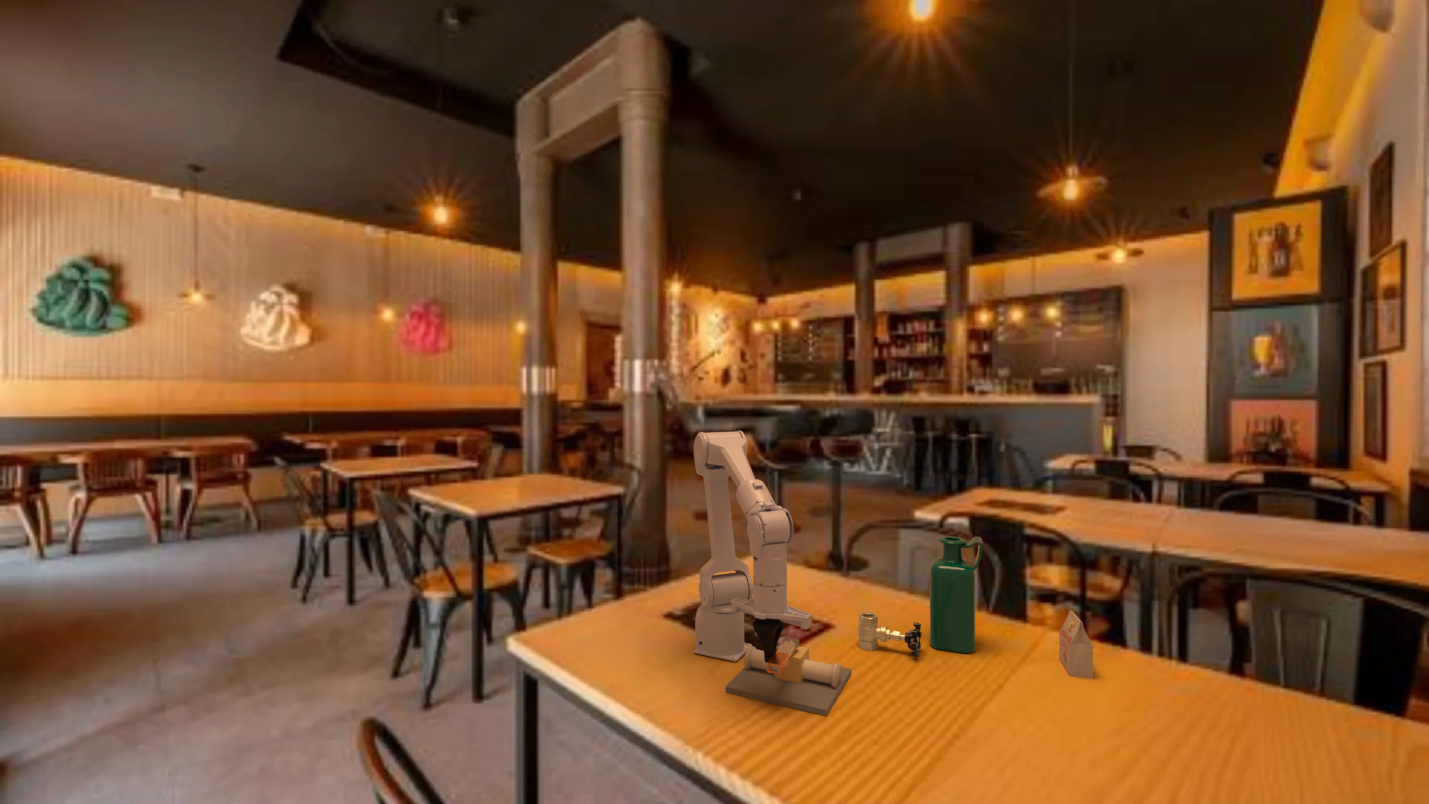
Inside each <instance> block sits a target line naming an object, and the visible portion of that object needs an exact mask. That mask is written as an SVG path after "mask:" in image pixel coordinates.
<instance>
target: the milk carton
mask: <svg viewBox="0 0 1429 804" xmlns="http://www.w3.org/2000/svg"><path fill="white" fill-rule="evenodd" d="M1059 662H1060V663H1061V665H1062V666H1063V668H1064V670H1065V671H1066V672H1067V674H1068V676H1069V677H1074V678H1082V679H1092V680H1093V678H1094V646H1093V644H1092V642H1091V639H1090V638H1089V636H1088V634H1087V631H1086V629H1085V628H1084V623H1083V621H1081V619H1080V618H1079V617H1078V616H1077V615H1076V614H1075V612H1074V611H1073V610H1072V609H1071V610H1070V609H1069V610H1068V613H1067V615H1066V618H1065V620H1064V621H1063V624H1062V625H1061V627H1060V629H1059Z"/></svg>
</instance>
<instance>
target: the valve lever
mask: <svg viewBox="0 0 1429 804" xmlns="http://www.w3.org/2000/svg"><path fill="white" fill-rule="evenodd" d="M781 646H782V647H781ZM781 646H780V647H781V648H780V647H779V648H780V650H779V651H778V650H777V651H778V652H777V651H776V652H774V654H773V655H772V656H771V658H770V659H769V661H768V662H767V672H768V673H773V674H779V675H781V674H782V673H783V671H784V670H785V668H786V666H787V665H788V663H789V657H790V656H791V654H792V653H793V651H795V650H796V648H798V647H799V646H800V639H799V638H798V637H795V636H787V637H785V638H784V642H783V644H782V645H781Z"/></svg>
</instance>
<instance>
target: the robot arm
mask: <svg viewBox="0 0 1429 804" xmlns="http://www.w3.org/2000/svg"><path fill="white" fill-rule="evenodd" d="M748 443H749V442H748V439H747V437H746V435H745V433H744V432H743V431H742V430H736V431H719V432H718V431H715V432H712V431H711V432H703V431H699V432H698V433H697V435H696V436H695V438H694V442H693V458H694V466H695V472H696V474H698V475H699V476H701V477H703V478H702V479H703V482H704V492H705V501H706V502H705V503H706V512H707V513H706V514H707V523H708V524H707V525H708V532H709V533H708V536H709V541H710V543H709V544H710V545H709V546H710V553H711V558H709V560H708V561H707V562H706V563H705V564H704V565H703V566H702V567H701V568H700V570H699V583H698V595H699V599H700V602H701V604H700V605H699V607H698V608H697V610H696V615H695V621H694V622H695V623H694V624H695V625H694V629H695V630H694V633H695V634H694V635H695V649H694V650H693V653H694V654H695V655H696V654H697V655H701V656H702V655H703V656H707V657H711V658H716V659H720V660H721V659H722V660H725V661H731V662H738V661H739V660H740V659H741V658H742V657H743V656H745V653H746V650H747V648H748V647H749V646H753V645H752V643H747V642H745V614H747V615H751V616H753V617H754V618H755V619H754V621H752V629H754V631H755V633H756V634H757V637H758V639H759V642H760V644H761V648H762V651H764V659H765V662H766V663H767V662H768V661H769V659H770V658H771V656H772V655H773V654H774V652H777V646H778V643H779V640H780V637H781V635H782V633H783V630H784V628H785V627H786V625H787V624H790V625H794V626H797V627H798V626H799V627H800V628H801V629H804V630H807V629H810V628H811V627H812V626H813V623H812V621H813V618H812V617H813V616H812V613H808V612H805V611H802V610H801V609H797V608H795V607H792V606H790V605H788V545H787V544H789V543H791V542H792V541H793V538H794V537H793V536H794V522H793V518H792V515H791V513H790V512H789V510H787V509H786V508H783V507H782V506H781V505H777V504H776V502H775V500H774V499H773V497H772V495H771V493H770V491H769V490H768V487H767V486H766V484H765V482H763V481H762V480H761V479H758V478H757V479H756V478H755V477H756V476H755V475H754V471H753V470H752V467H751V465H750V463H749V459H748V449H749V444H748ZM729 478H731V479H732V481H733V483H734V484H735V486H736V487H737V489H736V492H735V499H736V500H737V503H738V504H739V507H740V508H741V511H742V512H743V515H744V517H745V518H746V521H747V524H746V534H747V537H748V538H747V539H748V542H749V550H750V554H751V555H752V562H753V563H752V571H753V572H752V576H753V577H751V574H750V569H749V566H748V564H747V563H746V562H744V561H742V560H741V559H740V558H739V557H737V556H736V547H735V545H736V544H735V537H734V536H735V535H734V527H733V518H732V508H731V498H730V490H729V489H730V488H729ZM733 571H734V572H733ZM728 572H729V573H728ZM718 573H719V574H718ZM721 573H722V574H721Z"/></svg>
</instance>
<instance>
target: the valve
mask: <svg viewBox="0 0 1429 804" xmlns="http://www.w3.org/2000/svg"><path fill="white" fill-rule="evenodd" d="M878 620H879V618H878V616H877V614H876V613H873V612H870V611H869V612H868V611H867V612H866V611H865V612H861V613H859V614H858V623H859V624H858V627H857V636H858V647H860V649H861V650H865V651H870V652H873V651H875V650H878V648H879V645H878V644H879V641H878V640H880V642H883V643H887V642H888V640H890V639H892V641H894V642H896V641H897V642H901V640H902V641H904V643H905V644H907V645H906V646H907V647H908V649H909V650H911V656H912V657H916V658H917V657H920V649H921V648H922V643H921V638H922V636H923V635H922V631H921V630H922V624H921V623H919V622H913V625H912V627H914V628H911V629H909V631H908V632H905V633H904V634H902V633H901V631H896V630H892V631H893V632H892V631H891V629H889V628H888V626H885V625H881V626H878V625H879V621H878Z"/></svg>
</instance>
